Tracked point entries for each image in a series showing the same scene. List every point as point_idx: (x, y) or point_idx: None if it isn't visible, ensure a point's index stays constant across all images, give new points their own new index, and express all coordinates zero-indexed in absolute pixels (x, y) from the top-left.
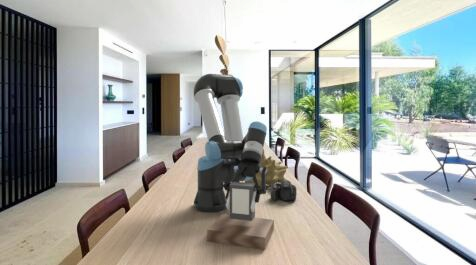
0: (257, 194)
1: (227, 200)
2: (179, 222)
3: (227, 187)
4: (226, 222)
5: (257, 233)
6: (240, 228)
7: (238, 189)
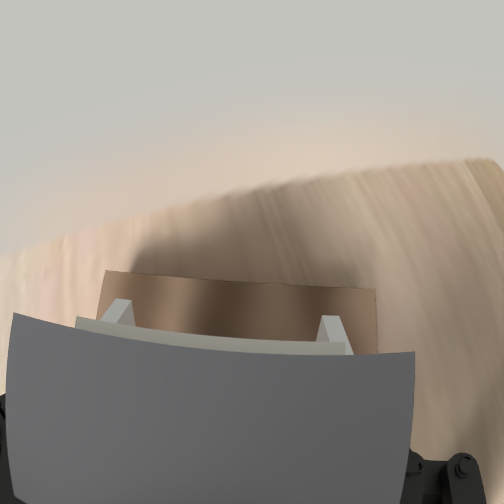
0: None
1: (347, 347)
2: (488, 407)
3: (425, 463)
4: None
5: (136, 304)
6: None
7: (237, 339)
